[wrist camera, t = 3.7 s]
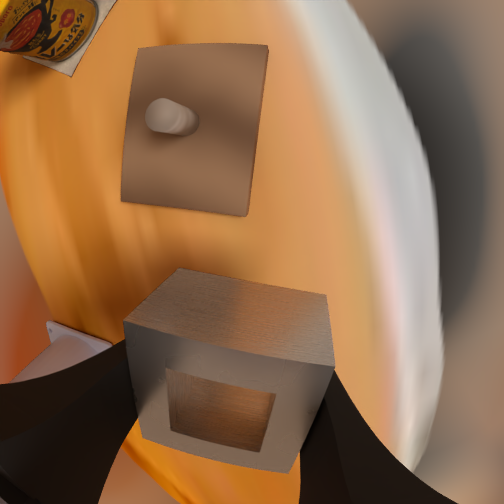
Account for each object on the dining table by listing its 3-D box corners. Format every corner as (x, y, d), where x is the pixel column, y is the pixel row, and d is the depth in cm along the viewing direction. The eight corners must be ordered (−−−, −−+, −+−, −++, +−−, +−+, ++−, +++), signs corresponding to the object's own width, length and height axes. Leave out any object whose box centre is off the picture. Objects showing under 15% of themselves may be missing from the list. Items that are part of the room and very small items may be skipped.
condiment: (72, 77, 16) (-58, 56, 5) (23, 57, 16) (-78, 45, 4) (122, -4, 14) (16, -70, 2) (63, -11, 13) (-28, -48, 2)
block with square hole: (295, 400, 12) (288, 473, 8) (178, 375, 13) (142, 437, 9) (326, 294, 10) (335, 366, 6) (179, 267, 11) (122, 320, 7)
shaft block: (248, 213, 17) (233, 231, 13) (128, 199, 18) (87, 211, 14) (268, 50, 14) (260, 18, 10) (145, 52, 15) (108, 31, 11)
